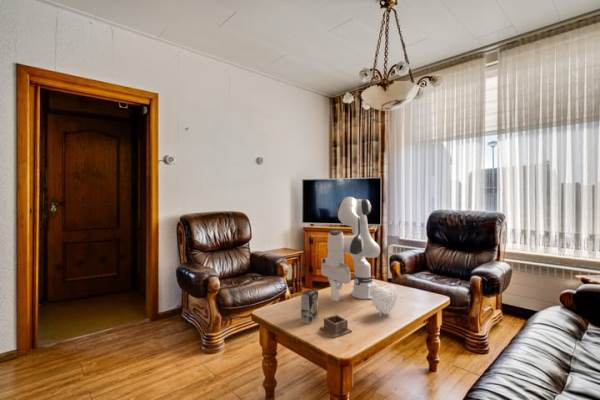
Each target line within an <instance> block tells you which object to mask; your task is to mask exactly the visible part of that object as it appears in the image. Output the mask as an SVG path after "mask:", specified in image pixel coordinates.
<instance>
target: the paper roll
mask: <svg viewBox="0 0 600 400" xmlns="http://www.w3.org/2000/svg"><path fill="white" fill-rule="evenodd" d="M338 285H339V283H338V281H336V280H334V279H332V280H331V286H330V288H331V289H330V298H331V299H330V300H331V301H334V302H338V301H340V299H341V297H340V294H341V293H340V290H338V289H337V286H338Z"/></svg>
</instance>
